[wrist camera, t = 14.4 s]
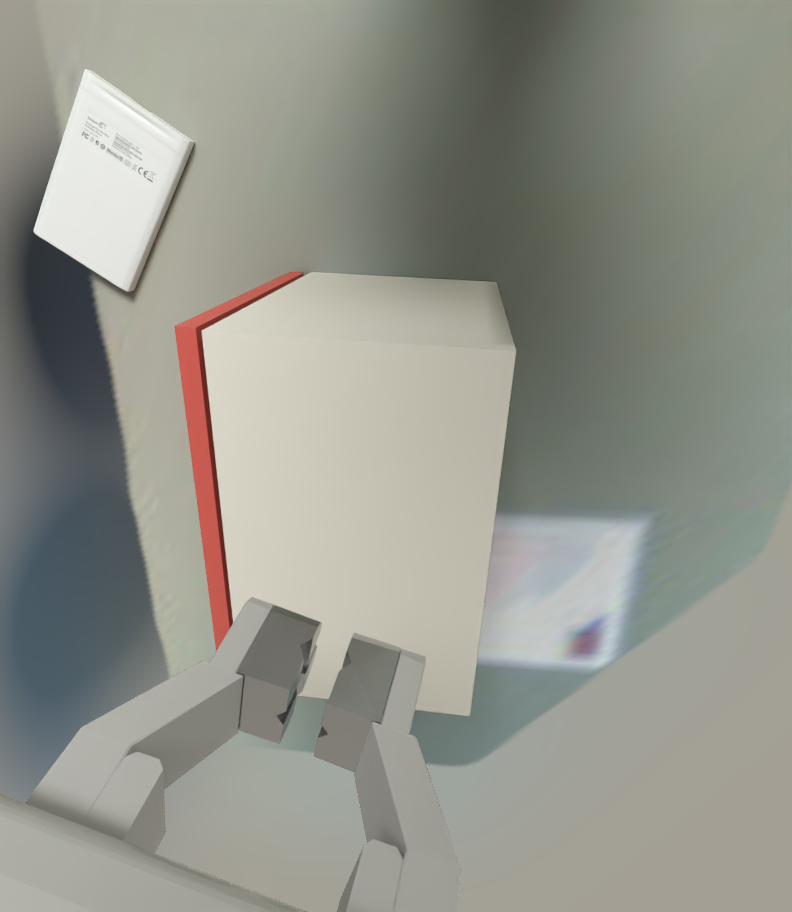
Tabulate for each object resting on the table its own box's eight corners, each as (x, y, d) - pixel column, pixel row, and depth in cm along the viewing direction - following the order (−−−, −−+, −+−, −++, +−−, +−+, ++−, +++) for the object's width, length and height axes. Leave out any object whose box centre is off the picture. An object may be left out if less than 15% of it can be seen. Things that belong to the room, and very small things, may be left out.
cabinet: (311, 271, 44) (201, 330, 26) (496, 282, 43) (516, 351, 25) (317, 519, 53) (240, 688, 35) (469, 533, 52) (469, 716, 34)
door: (269, 270, 44) (141, 324, 27) (303, 272, 44) (195, 327, 26) (283, 509, 53) (193, 664, 36) (311, 512, 52) (234, 669, 35)
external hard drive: (44, 230, 46) (96, 71, 40) (137, 289, 47) (198, 142, 42) (30, 231, 44) (81, 67, 39) (126, 293, 45) (188, 141, 40)
